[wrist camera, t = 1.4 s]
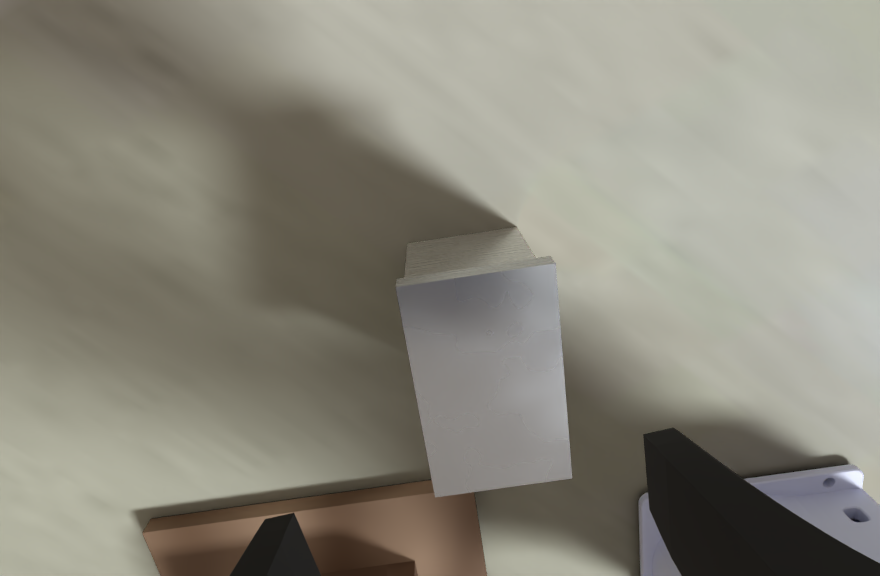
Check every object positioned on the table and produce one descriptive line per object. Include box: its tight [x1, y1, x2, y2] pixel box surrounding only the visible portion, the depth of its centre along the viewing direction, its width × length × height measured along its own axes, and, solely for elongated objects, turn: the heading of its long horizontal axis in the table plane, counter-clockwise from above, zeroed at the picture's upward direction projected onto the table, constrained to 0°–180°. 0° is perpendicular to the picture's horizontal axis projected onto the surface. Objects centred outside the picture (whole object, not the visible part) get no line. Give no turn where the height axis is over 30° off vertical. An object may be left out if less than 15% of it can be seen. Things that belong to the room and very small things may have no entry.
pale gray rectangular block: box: [396, 227, 572, 497], centre depth 18 cm, size 4×7×7 cm, turn 8°
